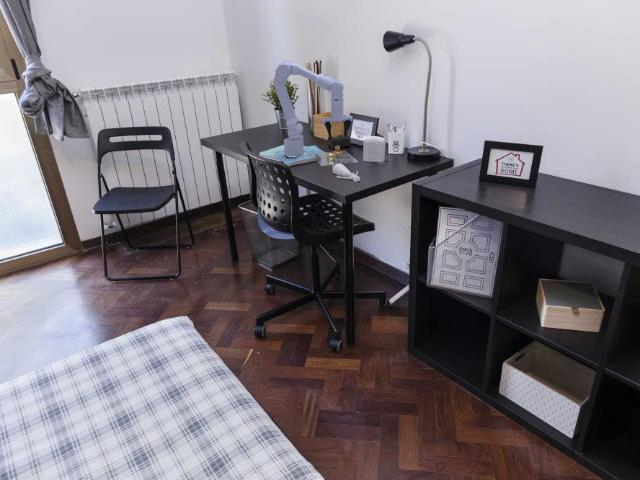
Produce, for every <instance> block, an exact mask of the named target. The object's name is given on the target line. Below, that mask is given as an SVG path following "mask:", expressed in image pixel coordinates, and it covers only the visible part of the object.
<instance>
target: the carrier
mask: <svg viewBox="0 0 640 480" xmlns="http://www.w3.org/2000/svg"><path fill="white" fill-rule="evenodd" d="M342 151H343V154H342V155H335V153H334V152H333V151H328V152H327V151H326V152H320V153H319V152H316V153H310V155H311V156H312V158H314V160H316V162H317V163H318V164H319V165H320V166H321V167H323V166H324V167H326V166H332V165H334V166H335V165H336V164H340V163H341V164H343V165H344V164H352V163H353V164H354V163H359V161H358V160H357V158H355V157H354V156H353V155H351V154H350V153H349V152H348V151H347V150H342Z"/></svg>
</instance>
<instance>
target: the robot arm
mask: <svg viewBox="0 0 640 480" xmlns="http://www.w3.org/2000/svg"><path fill="white" fill-rule="evenodd" d="M274 71H275V72H274V78H273V87H274V89H275V92H276V94H277V98H278V101H279V104H280V106H281V109H282V112H283V115H284V117H285V121H286V127H287V135H288V137H287V138H284V139H283V148H284V153H285V154H284V155H286V156H287V157H288V156H297V157H298V156H303V155H304V153H305V151H304V150H305V149H304V146H305V145H304V136H303V134H302V133H303V132H304V126H303V124H302V123H301V122H300V120H299V118H298V116H297V115H296V111H295V109H294V106H293V104H292V100H291V98H290V96H289V92H288V89H287V86H286V83H287V81H288V78H289V77H290V76H298V75H299V76H300V77H303V78H306V79H308V80H310V81H313V82H315V85H316V86H317V87H319V88H321V89H323V90H325V91H328V92H330V94H331V98H330V104H331V105H330V106H331V109H330V110H331V111H330V114H331V115H330V116H329V117H326V118H325V117H324V118H322V119H321V123H323V124H324V126H325V128H326V131H327V135H328V137H329V138H331V137H332V123H339V122H340V123H341V122H343V136H345V137H347V135H348V132H349V128H350V127H351V125H352V122H353V121H354V120H353V117H354V116H352V115H347V116H345V115H344V89H345V88H344V87H345V86H344V83H343V82H342V81H340V80H338V79H336V78H332V77H330V76H328V74H327V73H322V72H321V73H319V74H317V73H315V72H313V71H312V70H309V69H308V68H305V67H304V66H302V65H300V64H298V63H296V62H293V61H290V60H283V62H281V63H279V64H278V65H277V66H276V69H275V70H274ZM289 153H290V155H289ZM286 156H285V157H286ZM287 157H286V158H287Z"/></svg>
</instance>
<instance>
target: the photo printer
mask: <svg viewBox="0 0 640 480" xmlns="http://www.w3.org/2000/svg"><path fill="white" fill-rule="evenodd" d="M362 147H363V150H362V161H363V162H369V163H370V162H371V163H376V164H379V165H381V164H382V165H383V164H385V160H386V159H385V158H386V139H385V138H384V137H381V136H376V135H372V136H371V135H370V136H369V135H368V136H365V137H364V139H363V146H362Z"/></svg>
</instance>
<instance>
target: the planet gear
mask: <svg viewBox="0 0 640 480" xmlns="http://www.w3.org/2000/svg"><path fill="white" fill-rule="evenodd" d="M343 151H344V150H341V148H340V146H339V145H337V146H335V149H334V150H332V152H334V153H335V155H342V154H343Z"/></svg>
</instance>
